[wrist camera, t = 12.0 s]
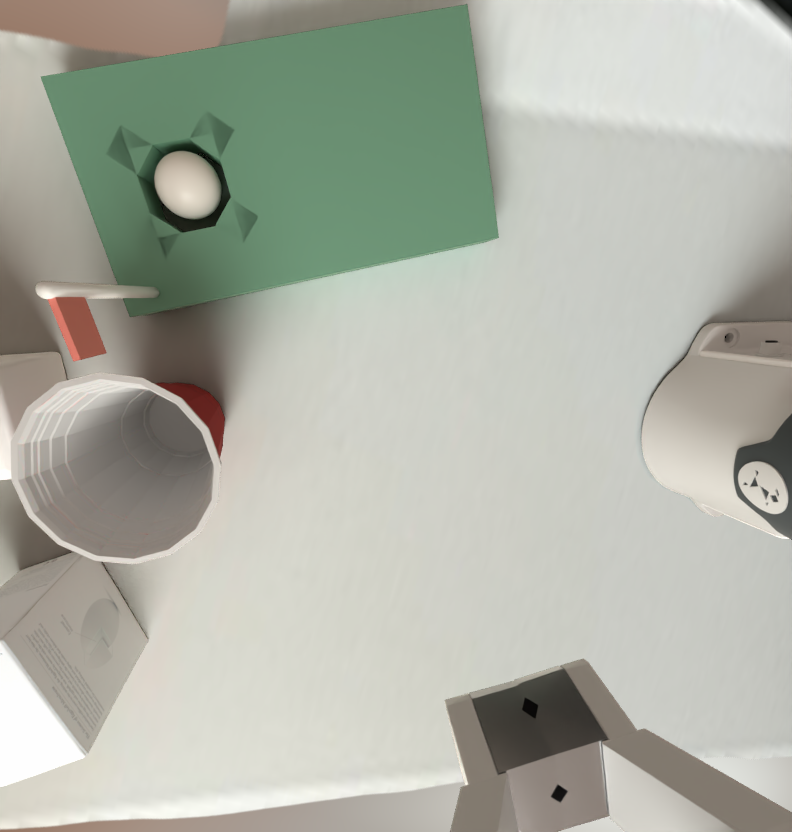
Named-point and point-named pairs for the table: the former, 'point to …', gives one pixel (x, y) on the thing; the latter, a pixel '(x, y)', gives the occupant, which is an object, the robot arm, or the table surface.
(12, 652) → the skincare box
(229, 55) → the putting deck
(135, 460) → the plastic cup
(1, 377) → the medicine bottle
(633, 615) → the table surface
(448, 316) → the table surface
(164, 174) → the ball
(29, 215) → the table surface
